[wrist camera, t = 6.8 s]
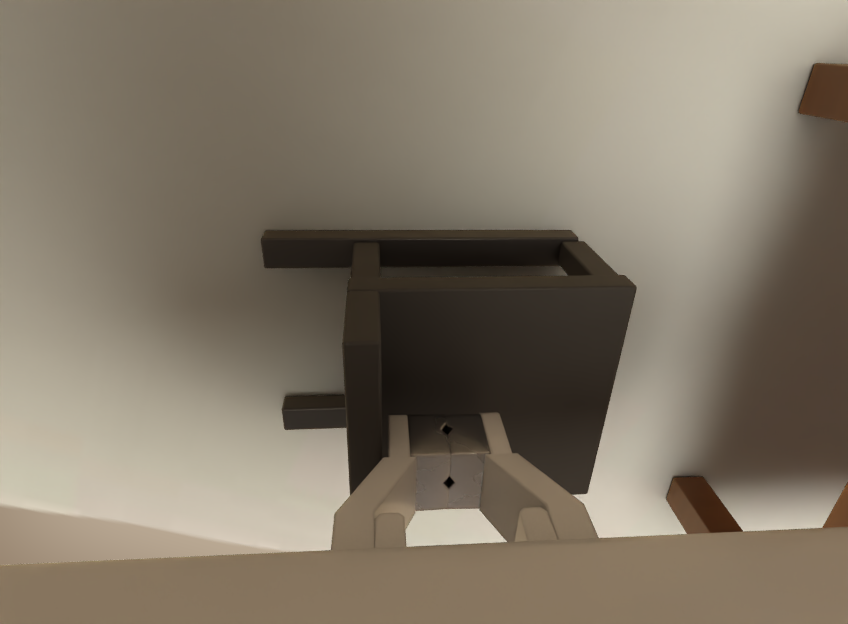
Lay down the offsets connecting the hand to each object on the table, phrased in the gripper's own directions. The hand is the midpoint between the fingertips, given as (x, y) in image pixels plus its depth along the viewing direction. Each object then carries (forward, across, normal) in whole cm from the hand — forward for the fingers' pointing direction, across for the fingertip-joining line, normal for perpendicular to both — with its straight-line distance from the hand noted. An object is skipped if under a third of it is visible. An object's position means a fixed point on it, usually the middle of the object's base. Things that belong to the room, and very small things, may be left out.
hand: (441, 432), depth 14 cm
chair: (+5, 0, 0) cm, 5 cm away
